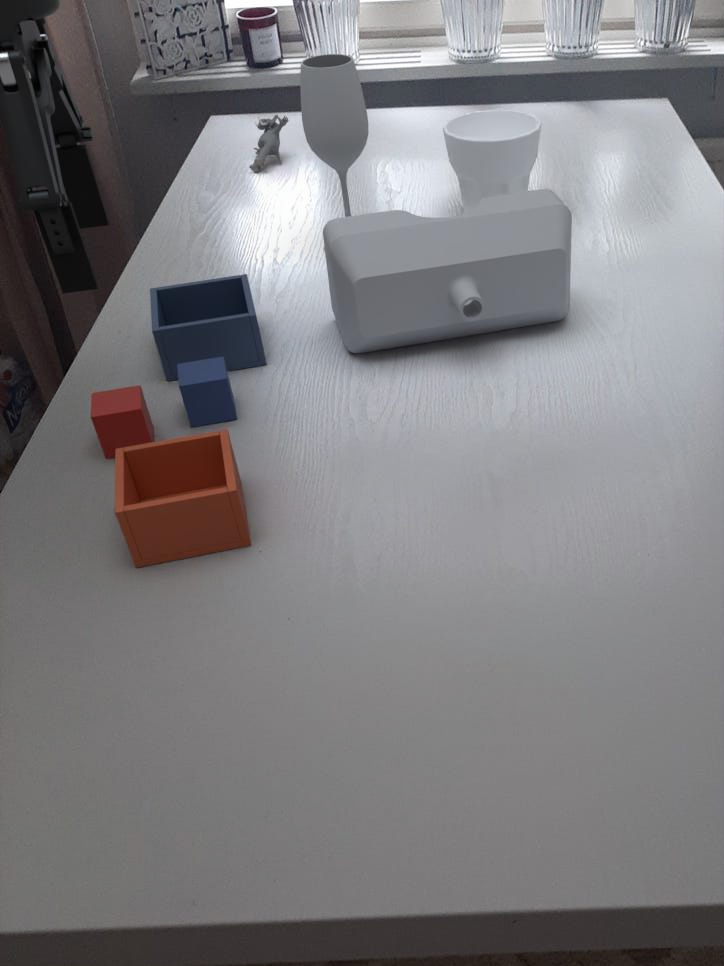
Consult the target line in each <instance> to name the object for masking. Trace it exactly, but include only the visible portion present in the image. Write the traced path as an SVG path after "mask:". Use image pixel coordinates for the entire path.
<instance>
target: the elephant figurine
mask: <svg viewBox="0 0 724 966" xmlns="http://www.w3.org/2000/svg"><path fill="white" fill-rule="evenodd" d="M257 119H258V123H257V122H256V121H254V124H255V126H256V128H257V129H258V130H260V131H263V133H262V134H261V135H260V136H259V138H258V141H257V146H258V148H257V147H253V149H254V150H255V155H256V156H255V158H254V161H253V163H252V164H250V165H249V169H250V170H251V171H252V172H254V173H257V174H258V173H259V172H260V169H261V167H264V166H265V163H266V160H267V157H268V156H275V157H276V159H277V160H278V162H279V163H280V165H281V166H282V163H283V162H282V160H281V156H280V152H279V151H280V145H281V139H280V138H281V137H280V132H281V130H282V129H283V128H284V127H285V126H286V125H287V123H289V121H290V120H289V118H288V116H286V115H283V118H280V117H279V115H278V114H275V115H273V118H269V117H268V118H260V117H259V116H258V117H257ZM277 120H278V122H279V123H277V122H276V121H277Z"/></svg>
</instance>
